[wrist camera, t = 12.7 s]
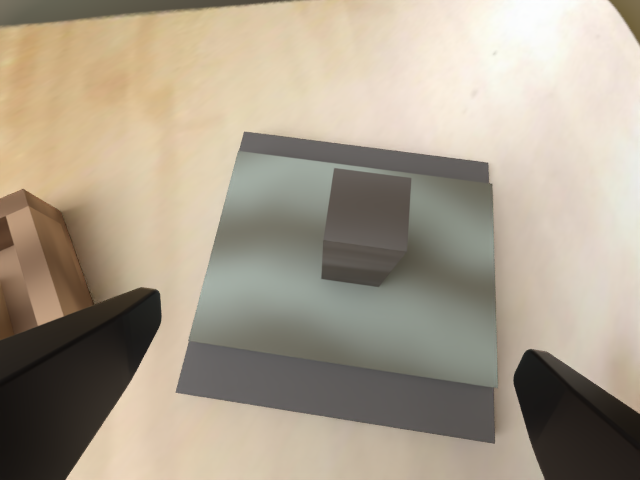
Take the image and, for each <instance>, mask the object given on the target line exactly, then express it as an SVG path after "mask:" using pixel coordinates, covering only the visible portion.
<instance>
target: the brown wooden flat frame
mask: <svg viewBox="0 0 640 480" xmlns="http://www.w3.org/2000/svg"><path fill="white" fill-rule="evenodd" d="M92 305H94V304H93V302H92V299H91V296H90V293H89V290H88V287H87V285H86V282H85V279H84V276H83V273H82V270H81V267H80V265H79V262H78V259H77V256H76V253H75V250H74V248H73V245H72V242H71V239H70V236H69V233H68V231H67V228H66V225H65V222H64V219H63V216H62V213H61V211H59V210H57V209H56V208H54V207H52V206H51V205H49V204H47V203H46V202H44V201H42V200H41V199H39V198H37V197H36V196H34V195H32V194H31V193H29V192H27V191H26V190H24V189H22V190H19V191H17V192H15V193H12V194H10V195H8V196H5V197H3V198H1V199H0V340H2V339H4V338H7V337H10V336H12V335H15V334H18V333H20V332H23V331H26V330H28V329H31V328H34V327H36V326H39V325H42V324H44V323H47V322H50V321H52V320H55V319H58V318H60V317H63V316H66V315H68V314H71V313H74V312H76V311H79V310H82V309H84V308H87V307H90V306H92Z"/></svg>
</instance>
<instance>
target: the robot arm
mask: <svg viewBox="0 0 640 480" xmlns="http://www.w3.org/2000/svg"><path fill="white" fill-rule="evenodd" d="M161 317H162V316H161V300H160V293H159V291H158V290H156V289H151V288H145V287H140V288H137V289H135V290H132V291H130V292H127V293H124V294H122V295H119V296H116V297H114V298H111V299H108V300H106V301H103V302H100V303H98V304H95V305H92V306H90V307H87V308H84V309H82V310H79V311H76V312H74V313H71V314H68V315H66V316H63V317H60V318H58V319H55V320H52V321H50V322H47V323H44V324H42V325H39V326H36V327H34V328H31V329H28V330H26V331H23V332H20V333H18V334H15V335H12V336H10V337H7V338H4V339H2V340H0V480H66V478H67V477H68V475H69V474H70V472H71V471H72V469H73V468H74V466H75V465H76V463H77V462H78V460H79V459H80V457H81V456H82V454H83V453H84V451H85V450H86V448H87V447H88V445H89V444H90V442H91V441H92V439H93V438H94V436H95V435H96V433H97V432H98V430H99V429H100V427H101V426H102V424H103V423H104V421H105V420H106V418H107V417H108V415H109V414H110V412H111V411H112V409H113V408H114V406H115V405H116V403H117V402H118V400H119V398H120V397H121V395H122V394H123V392H124V391H125V389H126V388H127V386H128V385H129V383H130V381H131V380H132V378H133V376H134V374H135V372H136V371H137V369H138V367H139V365H140V363H141V361H142V359H143V357H144V355H145V353H146V351H147V350H148V348H149V346H150V344H151V342H152V340H153V338H154V336H155V334H156V332H157V330H158V328H159V326H160V324H161ZM513 381H514V387H515V390H516V394H517V397H518V400H519V404H520V407H521V411H522V414H523V418H524V421H525V425H526V428H527V432H528V435H529V438H530V441H531V444H532V448H533V450H534V453H535V456H536V458H537V461H538V464H539V466H540V469H541V471H542V474H543V476H544V479H545V480H640V414H639V413H638V412H636V411H635V410H633V409H632V408H630V407H629V406H627V405H626V404H624V403H623V402H621V401H620V400H618V399H617V398H615V397H614V396H612V395H611V394H609V393H608V392H606V391H605V390H603V389H602V388H600V387H599V386H597V385H596V384H594V383H593V382H591V381H590V380H588V379H587V378H585V377H584V376H582V375H581V374H579V373H578V372H576V371H575V370H573V369H572V368H571V367H569V366H568V365H566V364H565V363H563V362H562V361H560V360H559V359H557V358H556V357H554V356H553V355H551V354H550V353H548V352H545V351H540V350H533V349H529V350H527V351H526V352H525V353H524V355H523V357H522V359H521V361H520V363H519V365H518V367H517V369H516V371H515V374H514V379H513Z"/></svg>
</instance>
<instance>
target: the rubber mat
mask: <svg viewBox="0 0 640 480" xmlns="http://www.w3.org/2000/svg"><path fill="white" fill-rule="evenodd" d="M239 151H243V152H250V153H258V154H266V155H273V156H281V157H289V158H297V159H304V160H312V161H320V162H327V163H335V164H343V165H351V166H358V167H366V168H374V169H382V170H389V171H397V172H405V173H412V174H420V175H428V176H436V177H443V178H451V179H459V180H466V181H474V182H482V183H489V172H488V163H486V162H478V161H470V160H463V159H455V158H447V157H439V156H431V155H423V154H416V153H408V152H400V151H392V150H384V149H376V148H369V147H361V146H353V145H345V144H337V143H329V142H322V141H314V140H306V139H298V138H290V137H283V136H275V135H267V134H259V133H251V132H244V134H243V138H242V142H241V146H240V149H239ZM176 393H182V394H188V395H194V396H200V397H207V398H213V399H219V400H225V401H232V402H238V403H244V404H250V405H257V406H263V407H269V408H275V409H282V410H288V411H294V412H300V413H307V414H313V415H319V416H325V417H332V418H338V419H344V420H350V421H357V422H363V423H369V424H375V425H382V426H388V427H394V428H400V429H407V430H413V431H419V432H425V433H432V434H438V435H444V436H450V437H457V438H463V439H469V440H475V441H482V442H488V443H494V444H495V429H494V387H486V386H479V385H473V384H466V383H460V382H453V381H447V380H440V379H433V378H427V377H420V376H414V375H407V374H401V373H394V372H388V371H381V370H374V369H368V368H361V367H355V366H348V365H342V364H335V363H329V362H322V361H316V360H309V359H302V358H296V357H289V356H283V355H276V354H270V353H263V352H257V351H250V350H244V349H237V348H230V347H224V346H217V345H211V344H204V343H198V342H192V341H189V343H188V347H187V351H186V355H185V359H184V363H183V366H182V370H181V374H180V378H179V382H178V385H177V389H176Z"/></svg>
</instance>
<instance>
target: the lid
mask: <svg viewBox="0 0 640 480" xmlns="http://www.w3.org/2000/svg"><path fill="white" fill-rule="evenodd" d="M188 341H192V342H198V343H204V344H211V345H217V346H224V347H230V348H237V349H244V350H250V351H257V352H263V353H270V354H276V355H283V356H289V357H296V358H302V359H309V360H316V361H322V362H329V363H335V364H342V365H348V366H355V367H361V368H368V369H374V370H381V371H388V372H394V373H401V374H407V375H414V376H420V377H427V378H433V379H440V380H447V381H453V382H460V383H466V384H473V385H479V386H486V387H494V388H498V372H497V336H496V301H495V265H494V230H493V194H492V184H490V183H482V182H474V181H466V180H459V179H451V178H443V177H436V176H428V175H420V174H412V173H405V172H397V171H389V170H382V169H374V168H366V167H358V166H351V165H343V164H335V163H327V162H320V161H312V160H304V159H297V158H289V157H281V156H273V155H266V154H258V153H250V152H243V151H238V154H237V157H236V161H235V165H234V169H233V173H232V176H231V180H230V184H229V188H228V192H227V195H226V199H225V203H224V207H223V211H222V215H221V218H220V222H219V226H218V230H217V234H216V237H215V241H214V245H213V249H212V253H211V256H210V260H209V264H208V268H207V272H206V275H205V279H204V283H203V287H202V291H201V294H200V298H199V302H198V306H197V310H196V313H195V317H194V321H193V325H192V329H191V332H190V336H189V340H188Z"/></svg>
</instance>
